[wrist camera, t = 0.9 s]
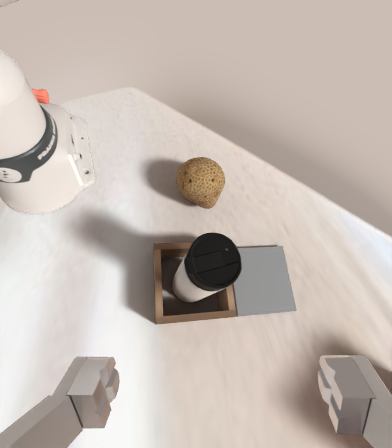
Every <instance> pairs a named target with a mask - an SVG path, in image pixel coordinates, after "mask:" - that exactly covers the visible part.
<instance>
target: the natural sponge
mask: <svg viewBox="0 0 392 448" xmlns="http://www.w3.org/2000/svg"><path fill="white" fill-rule="evenodd" d="M224 184H225V176H224V173H223V171H222V169H221V167H220V166H219V165H218V164H217V163H216V162H215V161H213V160H211V159H208V158H205V157H198V158H193V159H190V160H188V161H186V162H185V163H184V164H183V165H182V166H181V167H180V168H179V170H178V173H177V185H178V188H179V190H180V192H181V194H182V195H183V197H184V198H186V199H187V200H189V201H191V202H192V203H195V204H196V205H198V206H200V207H203V208H207V209H209V208H212V207H213V206H214V205H215V203H216V202H217V200H218V198H219V196H220V194H221V191H222V189H223V187H224Z"/></svg>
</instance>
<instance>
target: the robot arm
mask: <svg viewBox="0 0 392 448" xmlns="http://www.w3.org/2000/svg"><path fill="white" fill-rule="evenodd" d="M16 1H18V0H0V7H3V6H6V5H8V4H11V3H13V2H16ZM87 172H89V174H86V173H87ZM94 182H95V173H94V168H93V162H92V157H91V151H90V146H89V140H88V135H87V129H86V125H85V122H84V120H82V119H81V118H79V117H77V116H74V115H71V114H68V112H67V111H66V110H65V109H64V108H62V107H60V106H58V105H55V104H51V103H49V96H48V92H47V91H46V90H45V89H41V90H36V89H31V87H30V85H29V83H28V81H27V79H26V77H25V75H24V73H23V71H22V69H21V68H20V66H19V65H18V64H17V63H16V61H14V60H13V58H12V57H10V56H9V55H8V54H7V53H6V52H4V51H3V50H1V49H0V197H1V198H2V200H3V201H4V202H5V203H6V204H7V205H8V206H10V207H11V208H13V209H15V210H17V211H19V212H23V213H28V214H44V213H49V212H52V211H55V210H58V209H60V208H62V207H64V206H65V205H67V204H68V203H69V202H71V201H72V200H73V199H74V198H75V197H76V195H77V194H78V193H79V192H80V191H81V190H83V189H85V188H87V187H89V186H90V185H92V184H93V183H94ZM319 363H320V366H321V369H320V370H319V371H318V384H319V389H320V392H321V395H322V398H323V400H324V401H325V402H326V403H327V404H328V405H329V411H328V413H329V416H330V418H331V421H332V423H333V426H334V429H335V431H336V434H355V435H363V437H364V438H365V439H366V440H367V441H368V442H369V443H370V444H371V446H372V447H373V448H392V395H391V394H390V392H389V391H388V389H387V388H386V386H385V384H384V383H383V381H382V380H381V378H380V377H379V375H378V374H377V372H376V371H375V369H374V368H373V366H372V364H371V363H370V361H369V360H368V358H367V357H366V356H364V355H325V356H321V357H320V361H319ZM115 364H116V363H115V360H114V358H113V357H76V358H75V359H74V360H73V362H72V363H71V365H70V367H69V368H68V370H67V372H66V373H65V375H64V377H63V378H62V380H61V382H60V383H59V385H58V387H57V388H56V390H55V392H54V393H53V395H51V396H47V397H46V398H45V399H44V400H42V401H41V402H40V403H38V404H37V405H36V406H35V407H33V408H32V409H31V410H30V411H28V412H27V413H26V414H25V415H23V416H22V417H21V418H20V419H18V420H17V421H16V422H14V423H13V424H12V425H11V426H9V427H8V428H7V429H6V430H4V431H3V432H2V433H1V434H0V448H67V447H68V446H69V445H70V444H71V443H72V441H73V440H74V439H75V438H76V437H77V436H78V435H79V433H80V432H81V431H82V430H83V429H82V428H104V427H105V425H106V422H107V419H108V417H109V414H110V411H111V407H110V402H111V401H112V400H113V399H115V397H116V395H117V392H118V387H119V373H118V371H117V370H116V369H115V368H114V366H115Z"/></svg>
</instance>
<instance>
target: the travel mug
mask: <svg viewBox="0 0 392 448" xmlns="http://www.w3.org/2000/svg"><path fill="white" fill-rule="evenodd" d="M241 270H242V262H241V256H240V253H239V251H238V249H237V248H236V245H235V244H234V243H233V241H232V240H231V239H229V238H228V237H226V236H224V235H222V234H219V233H206V234H203V235H201V236H199V237H198V238H197V239H196V240H194V242H193V243H192V245H191V246H190V248H189V250H188V251H187V253H186V255H185V257H184V258H183V260H182V262H181V264H180V266H179V268H178V270H177V271H176V273H175V275H174V277H173V281H172V288H173V292H174V294H175V295H176V296H177V297H178V298H179V299H180V300H181V301H184V302H187V303H192V302H196V301H198V300H200V299H203V298H205V297H207V296H209V295H212V294H214V293H216V292H218V291H220V290H223V289H224V288H226V287H228V286H230V285H231V284H233V283H234V282H235V281H236V280H237V279H238V277H239V275H240V273H241Z"/></svg>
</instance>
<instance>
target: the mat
mask: <svg viewBox="0 0 392 448" xmlns="http://www.w3.org/2000/svg"><path fill="white" fill-rule="evenodd" d="M237 249H238V251H239V253H240V256H241V262H242V270H241V273H240V275H239V277H238V279H237V280H236V281H235V282H234V283H233V284H232V287H233V294H234V302H235V309H236V316H247V315H257V314H268V313H278V312H288V311H296V306H295V301H294V297H293V292H292V287H291V283H290V278H289V273H288V268H287V264H286V259H285V254H284V250H283V246H277V247H253V248H237Z"/></svg>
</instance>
